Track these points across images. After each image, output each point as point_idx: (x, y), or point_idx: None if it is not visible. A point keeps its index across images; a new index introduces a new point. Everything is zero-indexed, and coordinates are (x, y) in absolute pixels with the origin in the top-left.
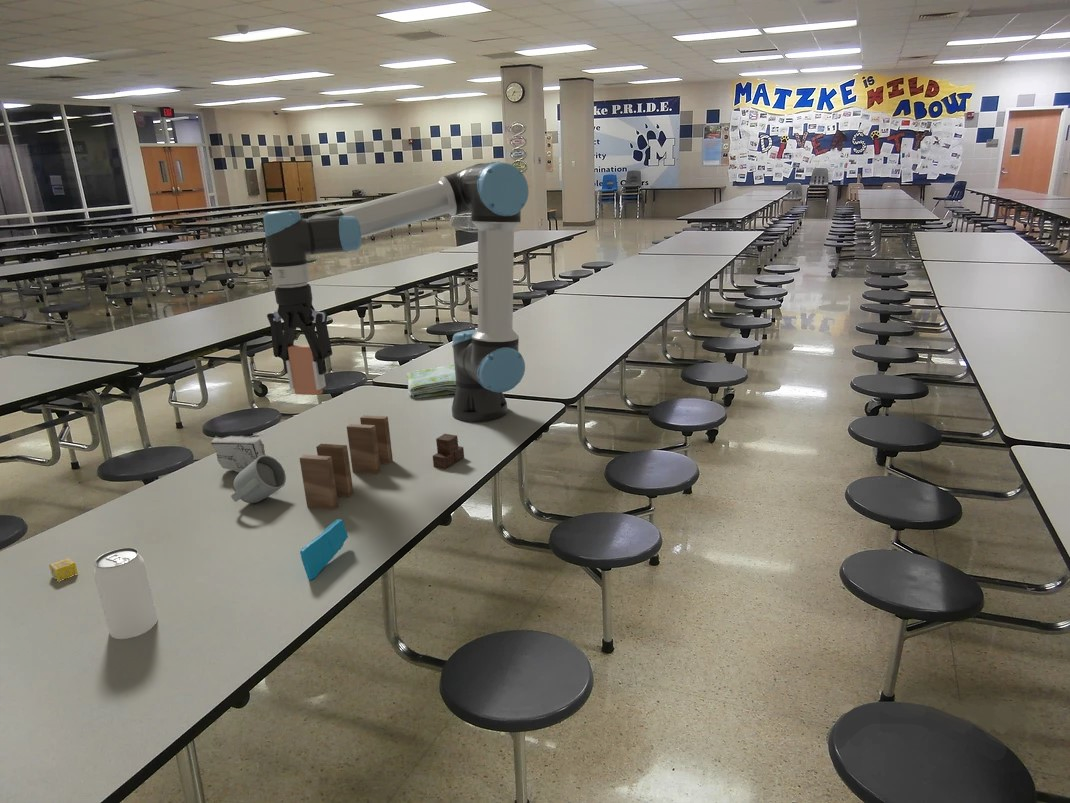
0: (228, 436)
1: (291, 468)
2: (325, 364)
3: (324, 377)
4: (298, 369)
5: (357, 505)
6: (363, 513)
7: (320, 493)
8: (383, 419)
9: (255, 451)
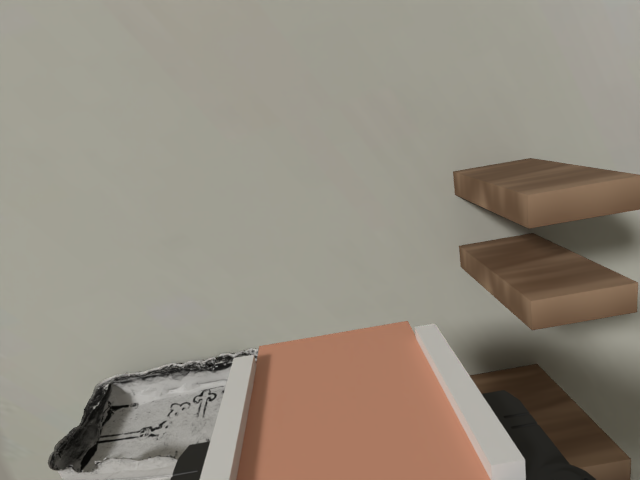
0: (103, 460)
1: (269, 300)
2: (546, 436)
3: (456, 356)
4: None
5: (575, 401)
6: (607, 423)
7: None
8: (636, 208)
9: None
